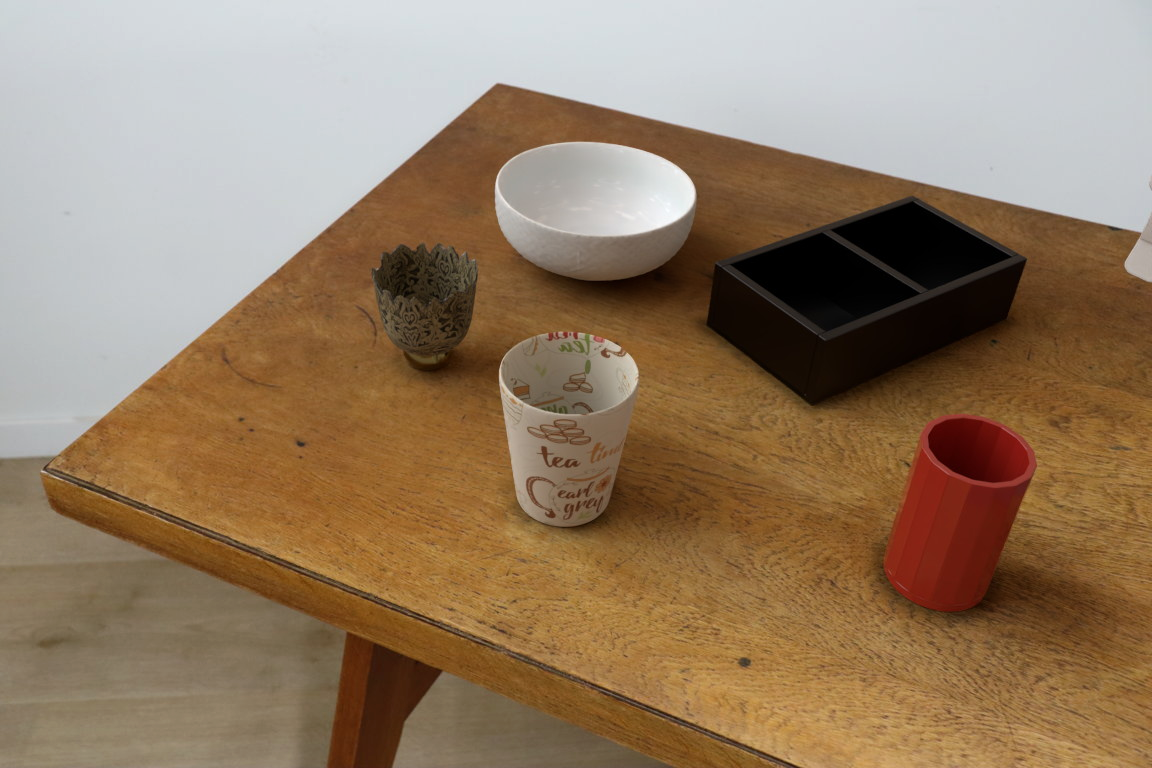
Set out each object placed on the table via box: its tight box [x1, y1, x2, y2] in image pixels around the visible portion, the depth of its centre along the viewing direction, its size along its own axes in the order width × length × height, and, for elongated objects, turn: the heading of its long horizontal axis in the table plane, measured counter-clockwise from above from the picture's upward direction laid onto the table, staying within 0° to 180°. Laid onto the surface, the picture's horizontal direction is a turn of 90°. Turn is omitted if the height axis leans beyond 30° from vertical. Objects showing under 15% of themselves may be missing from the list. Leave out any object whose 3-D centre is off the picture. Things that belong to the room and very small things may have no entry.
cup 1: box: [370, 242, 479, 371], centre depth 80 cm, size 8×7×8 cm
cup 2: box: [882, 413, 1038, 613], centre depth 65 cm, size 6×6×10 cm
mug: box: [498, 331, 640, 528], centre depth 70 cm, size 8×13×10 cm, turn 166°
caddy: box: [706, 195, 1028, 406], centre depth 87 cm, size 22×12×6 cm, turn 124°
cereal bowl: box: [494, 141, 698, 282], centre depth 93 cm, size 17×17×7 cm
